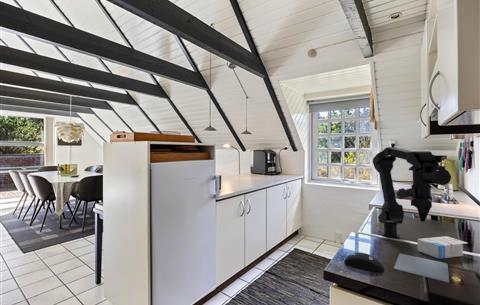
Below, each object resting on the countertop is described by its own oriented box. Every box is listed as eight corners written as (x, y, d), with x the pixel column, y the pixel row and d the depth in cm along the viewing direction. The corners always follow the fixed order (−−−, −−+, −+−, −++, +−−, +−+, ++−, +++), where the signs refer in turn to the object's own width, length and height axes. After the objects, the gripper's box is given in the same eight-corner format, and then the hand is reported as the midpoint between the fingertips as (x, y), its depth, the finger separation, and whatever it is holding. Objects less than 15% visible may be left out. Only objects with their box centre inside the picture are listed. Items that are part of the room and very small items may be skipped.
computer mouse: (382, 276, 75) (381, 263, 75) (342, 265, 82) (342, 254, 82) (385, 268, 80) (385, 256, 81) (348, 258, 88) (348, 247, 88)
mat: (399, 254, 91) (399, 253, 91) (447, 264, 83) (447, 263, 83) (393, 268, 79) (393, 268, 79) (449, 282, 70) (449, 281, 70)
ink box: (439, 259, 86) (469, 255, 90) (438, 246, 87) (469, 242, 90) (417, 250, 95) (446, 247, 98) (416, 238, 95) (445, 235, 98)
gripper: (399, 179, 107) (400, 214, 106) (394, 182, 92) (395, 222, 92) (431, 181, 100) (432, 218, 99) (431, 184, 85) (432, 228, 85)
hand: (422, 221), depth 94 cm, fingers closed
